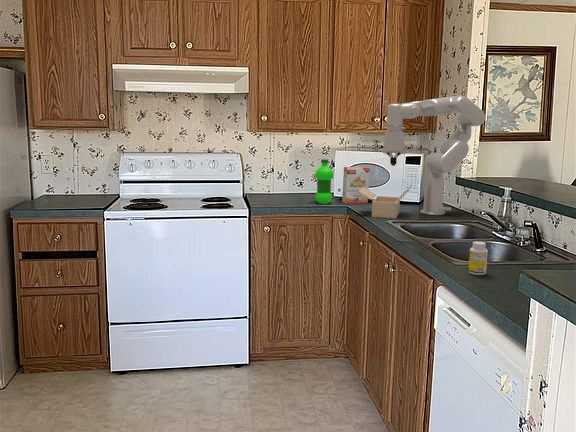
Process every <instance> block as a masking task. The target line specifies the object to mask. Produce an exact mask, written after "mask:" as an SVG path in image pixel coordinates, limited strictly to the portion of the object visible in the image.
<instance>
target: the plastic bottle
mask: <svg viewBox="0 0 576 432" xmlns="http://www.w3.org/2000/svg"><path fill="white" fill-rule="evenodd" d="M320 163H321V165H320V166H319V167H318V168H317V169H316V170H315V174H314V175H315V178H316V180H317V182H316V183H317V186H316V194H315V200H316V202H317V203H318V204H321V205H328V204H329V203H330V202H331V201H332V198H333V195H332V193H331V189H332V188H331V187H332V180H333V178H334V171H333V170H332V168H330V167H329V165H328V164H329V159H326V158H324V159H323V158H321V160H320Z"/></svg>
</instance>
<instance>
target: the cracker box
mask: <svg viewBox="0 0 576 432" xmlns="http://www.w3.org/2000/svg"><path fill="white" fill-rule="evenodd" d="M370 169H371V168H370V167H367V166H343V173H342V174H343V175H342V176H343V178H342V179H343V180H342V197H341V198H342V200H341V203H343V204H347V205H348V204H349V205H351V204H352V205H353V204H354V205H355V204H356V205H357V204H360V205H361V204H363V205H364V204H366V205H367V204H368V202H369V198H367V197H365V196H364V195H362V194H361V193H359V192H358V191H359V190H361V189H362V188H363V187H365V188H366V189H368V190H369V189H370V187H369V185H370Z"/></svg>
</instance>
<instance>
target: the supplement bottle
mask: <svg viewBox="0 0 576 432" xmlns="http://www.w3.org/2000/svg"><path fill="white" fill-rule="evenodd" d="M486 246H487V245H486V242H483V241H472V247H470V248H469V256H468V257H469V259H468V274H471V275H475V276H483V275H485V274H486V273H487V268H488V267H487V266H488V256H489V255H488V253H489V251H488V248H486Z"/></svg>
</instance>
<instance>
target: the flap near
mask: <svg viewBox="0 0 576 432" xmlns="http://www.w3.org/2000/svg"><path fill="white" fill-rule="evenodd" d="M411 188H412V185H409V186H408V187H407V188H406V189H405V190H404V192H402V193H401V195H399V199H398V201H399V200H400V201H401V199H402V198H403V197H404V196H405V195H406V194H407V193H408V192H409V191H410V189H411Z"/></svg>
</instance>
